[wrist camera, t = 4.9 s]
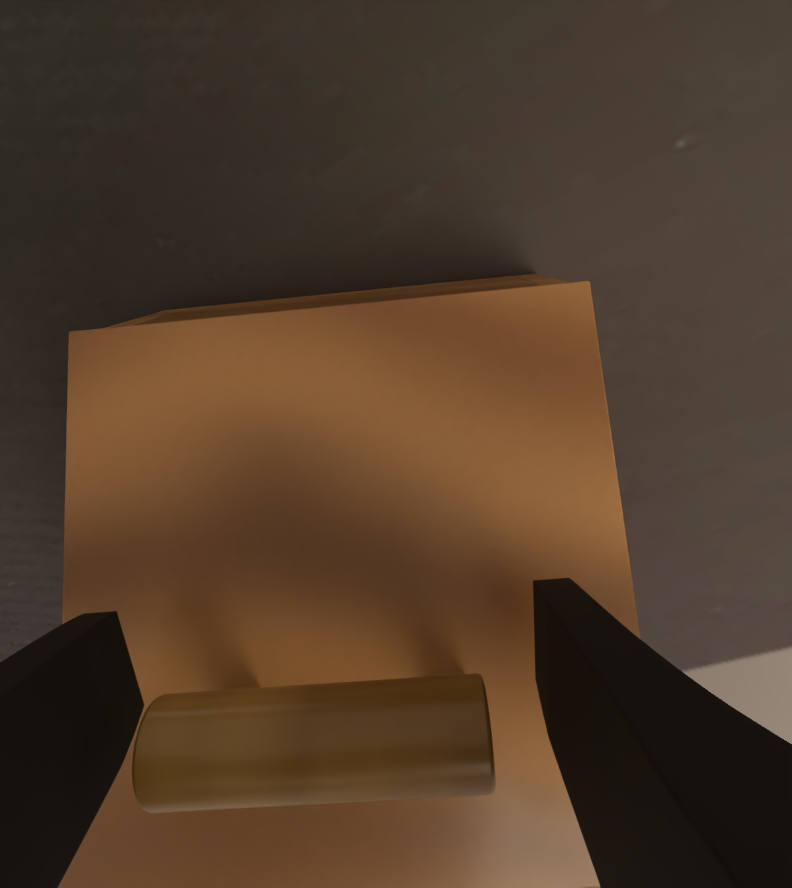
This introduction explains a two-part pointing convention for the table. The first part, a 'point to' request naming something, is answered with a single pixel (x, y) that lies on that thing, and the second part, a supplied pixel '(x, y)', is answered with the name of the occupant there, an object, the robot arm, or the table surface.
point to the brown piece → (341, 586)
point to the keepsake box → (344, 298)
